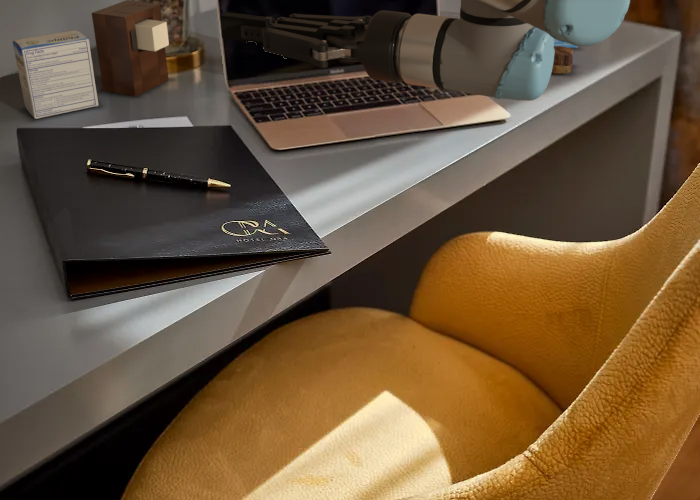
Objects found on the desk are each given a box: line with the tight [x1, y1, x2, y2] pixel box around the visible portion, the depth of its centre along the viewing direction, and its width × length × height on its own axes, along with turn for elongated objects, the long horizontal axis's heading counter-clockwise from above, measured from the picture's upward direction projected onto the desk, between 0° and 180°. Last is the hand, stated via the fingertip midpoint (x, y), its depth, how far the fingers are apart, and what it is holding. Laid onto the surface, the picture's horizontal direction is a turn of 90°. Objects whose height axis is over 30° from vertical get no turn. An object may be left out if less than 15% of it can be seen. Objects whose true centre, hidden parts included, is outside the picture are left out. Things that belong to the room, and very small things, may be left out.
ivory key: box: [135, 19, 170, 51], centre depth 114 cm, size 3×3×3 cm
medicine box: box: [12, 29, 99, 120], centre depth 109 cm, size 8×4×9 cm, turn 122°
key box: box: [91, 0, 169, 97], centre depth 116 cm, size 5×7×10 cm
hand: (224, 25), depth 109 cm, fingers closed
